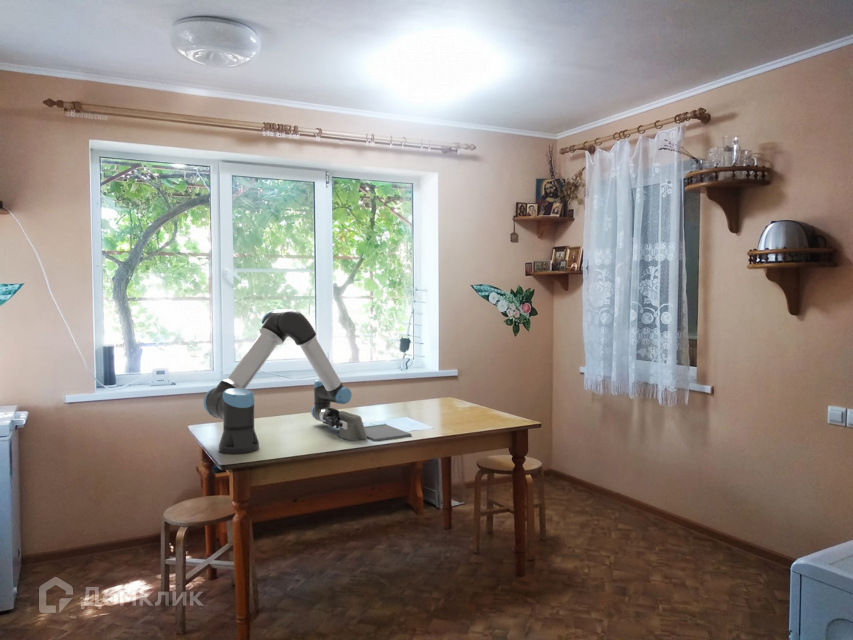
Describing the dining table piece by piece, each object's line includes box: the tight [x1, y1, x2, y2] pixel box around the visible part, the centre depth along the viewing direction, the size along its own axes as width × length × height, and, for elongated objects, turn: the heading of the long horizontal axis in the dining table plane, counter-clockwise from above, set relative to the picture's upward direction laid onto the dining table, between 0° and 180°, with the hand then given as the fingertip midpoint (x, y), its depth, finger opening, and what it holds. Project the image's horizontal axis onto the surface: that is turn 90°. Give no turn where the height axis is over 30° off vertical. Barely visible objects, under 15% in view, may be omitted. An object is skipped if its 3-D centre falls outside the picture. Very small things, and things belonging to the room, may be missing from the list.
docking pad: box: [364, 423, 412, 442], centre depth 264 cm, size 18×24×1 cm
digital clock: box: [338, 410, 367, 442], centre depth 256 cm, size 16×9×11 cm, turn 27°
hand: (352, 425), depth 253 cm, fingers closed on digital clock, 5 cm apart
